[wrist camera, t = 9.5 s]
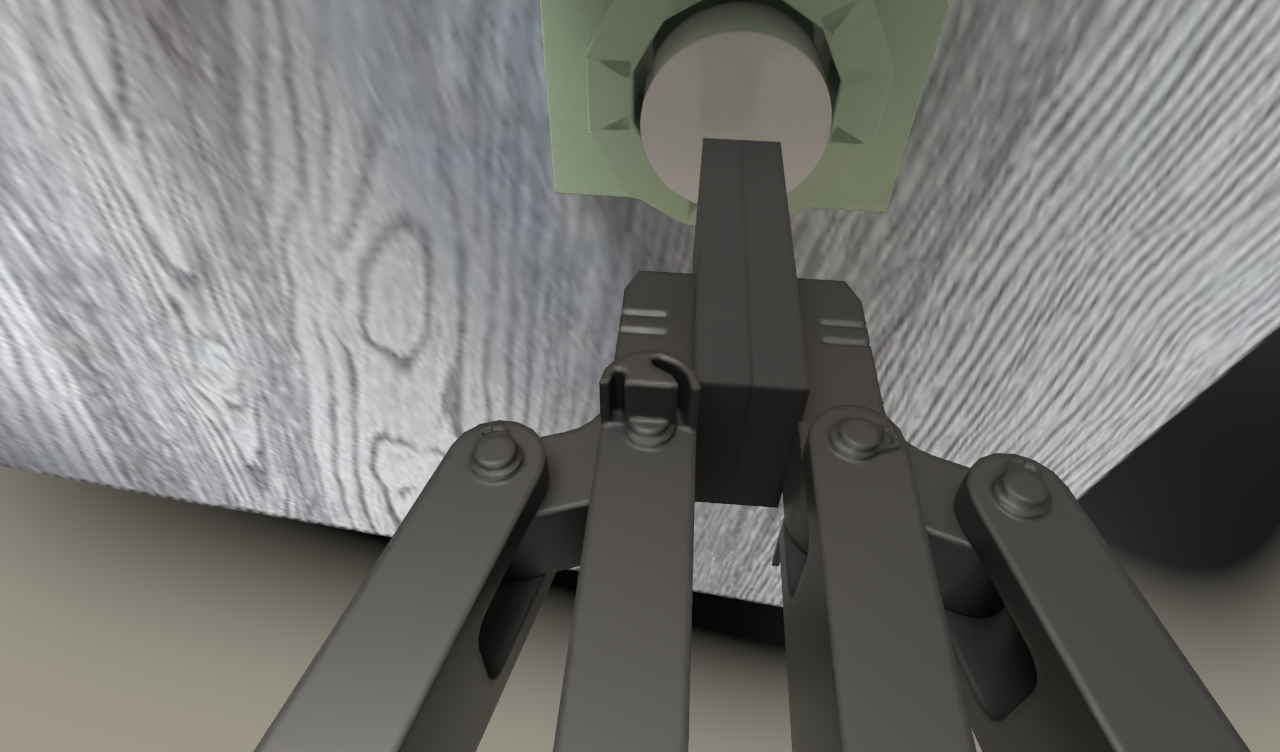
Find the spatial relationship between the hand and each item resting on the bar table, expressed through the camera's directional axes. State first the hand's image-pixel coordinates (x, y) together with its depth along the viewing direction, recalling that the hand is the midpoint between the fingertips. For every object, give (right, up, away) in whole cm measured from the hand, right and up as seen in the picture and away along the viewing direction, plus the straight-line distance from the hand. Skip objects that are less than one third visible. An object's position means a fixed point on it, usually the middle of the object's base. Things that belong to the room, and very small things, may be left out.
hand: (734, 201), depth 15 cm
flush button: (0, +3, +3) cm, 5 cm away
